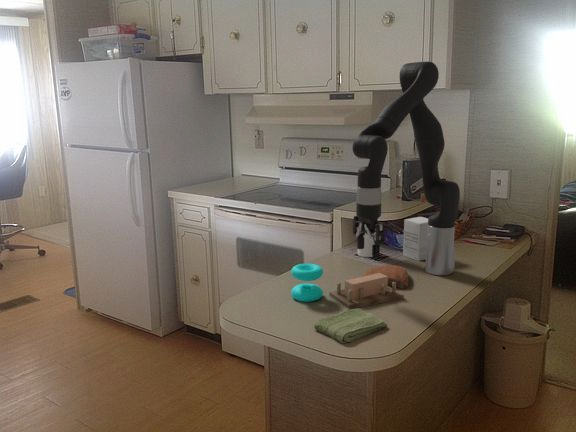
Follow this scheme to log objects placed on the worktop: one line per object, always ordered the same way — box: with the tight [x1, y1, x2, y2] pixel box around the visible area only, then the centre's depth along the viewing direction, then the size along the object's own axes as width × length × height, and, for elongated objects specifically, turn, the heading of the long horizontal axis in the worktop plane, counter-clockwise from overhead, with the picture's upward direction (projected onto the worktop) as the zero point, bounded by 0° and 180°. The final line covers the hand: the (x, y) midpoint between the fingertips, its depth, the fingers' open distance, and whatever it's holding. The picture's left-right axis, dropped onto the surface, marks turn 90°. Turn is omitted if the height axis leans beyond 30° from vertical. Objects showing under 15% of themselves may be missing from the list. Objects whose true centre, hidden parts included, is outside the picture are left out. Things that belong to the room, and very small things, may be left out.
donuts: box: [290, 263, 324, 303], centre depth 171 cm, size 10×10×10 cm
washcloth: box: [313, 308, 388, 344], centre depth 149 cm, size 13×18×3 cm
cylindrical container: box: [357, 232, 376, 258], centre depth 214 cm, size 7×7×25 cm
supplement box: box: [402, 216, 428, 262], centre depth 212 cm, size 9×9×15 cm
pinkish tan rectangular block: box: [344, 273, 389, 300], centre depth 171 cm, size 14×4×5 cm, turn 121°
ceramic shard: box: [363, 264, 409, 289], centre depth 187 cm, size 15×6×15 cm
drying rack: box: [329, 282, 405, 310], centre depth 172 cm, size 20×12×5 cm, turn 114°
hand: (367, 252), depth 169 cm, fingers open, 8 cm apart
